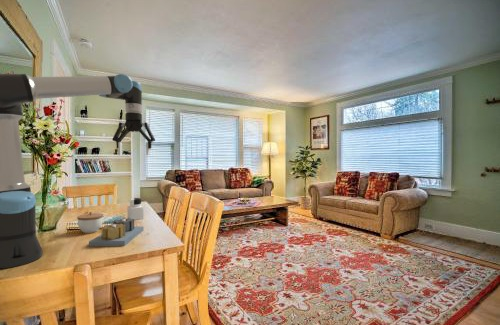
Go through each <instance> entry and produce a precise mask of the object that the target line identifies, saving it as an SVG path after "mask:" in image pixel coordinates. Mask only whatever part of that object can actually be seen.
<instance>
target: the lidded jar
mask: <svg viewBox="0 0 500 325" xmlns="http://www.w3.org/2000/svg"><path fill="white" fill-rule="evenodd" d="M76 218H77V225H78V226H77V227H78V228H79V231H82V232H83V233H84V234H92V233H96V232H98V231H99V230H100V229H101V227H103V222H104V213H100V212H92V211H90V212H89V213H85V214H80V215H78V216H77V217H76Z"/></svg>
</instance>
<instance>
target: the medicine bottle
mask: <svg viewBox="0 0 500 325" xmlns="http://www.w3.org/2000/svg"><path fill="white" fill-rule="evenodd" d="M144 210H145V209H144V206H142V199H141V198H140V197H133V198H130V199H129V206H127V211H126V212H127V213H126V214H127V218H131V219H134V221H139V220H143V219H144V216H145V215H144V214H145V213H144Z"/></svg>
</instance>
